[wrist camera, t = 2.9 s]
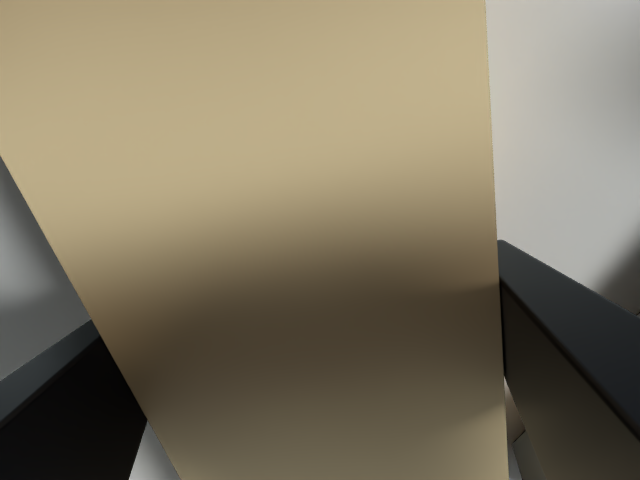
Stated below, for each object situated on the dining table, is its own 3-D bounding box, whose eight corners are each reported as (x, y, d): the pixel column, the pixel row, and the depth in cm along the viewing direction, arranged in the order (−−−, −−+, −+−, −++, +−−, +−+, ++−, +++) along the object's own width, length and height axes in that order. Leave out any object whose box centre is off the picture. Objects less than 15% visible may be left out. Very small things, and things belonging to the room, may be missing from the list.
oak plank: (483, 457, 13) (513, 581, 11) (264, 474, 14) (244, 592, 12) (423, -243, 7) (467, -360, 4) (12, -119, 7) (-171, -149, 5)
